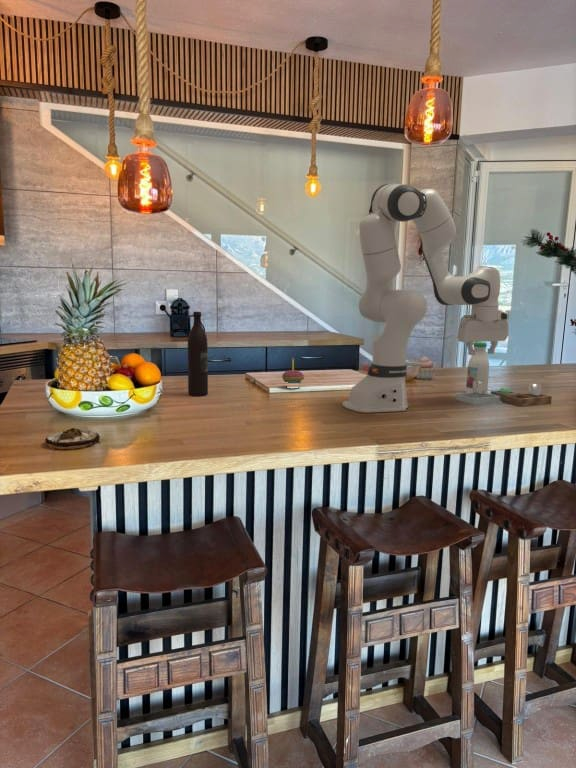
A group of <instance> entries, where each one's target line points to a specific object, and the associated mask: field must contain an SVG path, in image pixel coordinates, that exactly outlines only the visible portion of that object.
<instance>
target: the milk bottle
mask: <svg viewBox="0 0 576 768" xmlns="http://www.w3.org/2000/svg"><path fill="white" fill-rule="evenodd" d="M487 346H488V343H487V341H485V342H474V344H473V350H475V355H470V358H469V361H468V364H467V371H466V372H467V374H466V385H465V386H466V387H465V393H472V390H473V381H475V380H479V381H485V390H484V393H488V389H489V388H488V387H489V377H490V375H489V374H490V362H489V359H488V356H487V351H486V349H487Z"/></svg>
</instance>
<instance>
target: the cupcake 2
mask: <svg viewBox="0 0 576 768" xmlns="http://www.w3.org/2000/svg"><path fill="white" fill-rule="evenodd" d="M418 362H419V363H421V368H420V370H419V373H418V379H417V380H421V379H422V380H423V381H424V380H425V381H428V380H429V379H430V380H432V379H433V378H432V377H433V374H434V373H435V370H436V368H435V367H434V366H435V365H434V364H433V360H430V359H429V358H428V357H427V356H426V355H425V356H423V357H421V358H420V359H419V360H418Z"/></svg>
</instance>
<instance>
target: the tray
mask: <svg viewBox="0 0 576 768" xmlns="http://www.w3.org/2000/svg"><path fill="white" fill-rule="evenodd" d="M455 401H460V402H462V403H466V404H469V405H470V404H471V405H474V406H475V405H486V404H495V403H500V402H501V400H500V396H496V395H492V394H491V393H488V392H487V393H484V397H483V398H472V393H466V392H465V393H456V394H455Z"/></svg>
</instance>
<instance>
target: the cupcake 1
mask: <svg viewBox="0 0 576 768" xmlns="http://www.w3.org/2000/svg"><path fill="white" fill-rule="evenodd" d="M291 362H292V363H291V370H289V369H288V370H285V372H283V373H282V377H281V378H282V380H283V381H284V383H285V382H288V383H300V384H301V382H302V380H304V379H305V376H304V375H305V374H303V372H301V371H299V370H295V359H294V358H292V359H291Z"/></svg>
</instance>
